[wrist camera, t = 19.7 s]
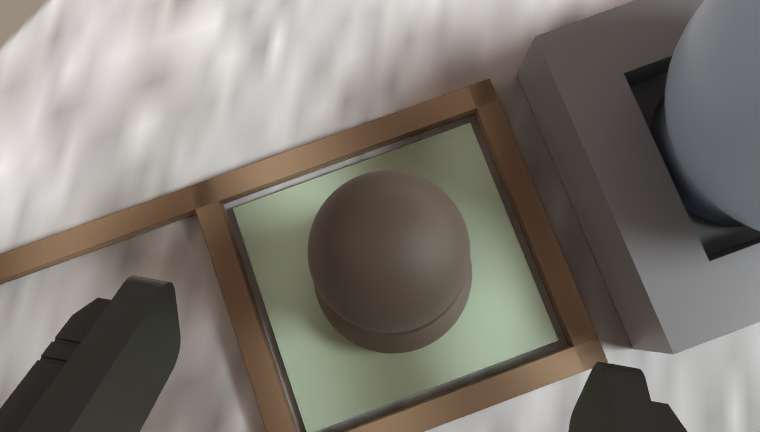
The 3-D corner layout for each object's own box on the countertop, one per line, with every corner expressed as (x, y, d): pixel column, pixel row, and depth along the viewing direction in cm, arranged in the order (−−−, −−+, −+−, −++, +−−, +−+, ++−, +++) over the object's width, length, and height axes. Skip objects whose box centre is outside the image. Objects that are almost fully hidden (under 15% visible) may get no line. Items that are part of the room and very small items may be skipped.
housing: (779, -20, 22) (838, -72, 19) (914, 242, 21) (1001, 230, 18) (516, 74, 22) (535, 36, 19) (633, 348, 20) (673, 354, 17)
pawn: (436, 179, 21) (465, 74, 12) (491, 320, 20) (566, 324, 11) (297, 229, 21) (217, 163, 12) (346, 373, 20) (302, 421, 11)
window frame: (487, 85, 22) (489, 78, 21) (601, 360, 20) (607, 362, 20) (-86, 291, 21) (-100, 290, 21) (-15, 593, 20) (-28, 601, 19)
